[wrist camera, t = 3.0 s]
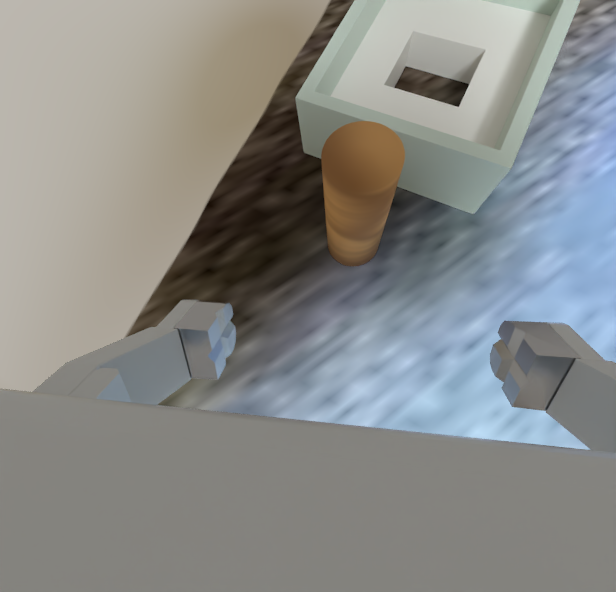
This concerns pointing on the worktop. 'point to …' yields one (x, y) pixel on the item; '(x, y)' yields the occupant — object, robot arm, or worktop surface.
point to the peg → (359, 188)
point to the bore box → (447, 63)
